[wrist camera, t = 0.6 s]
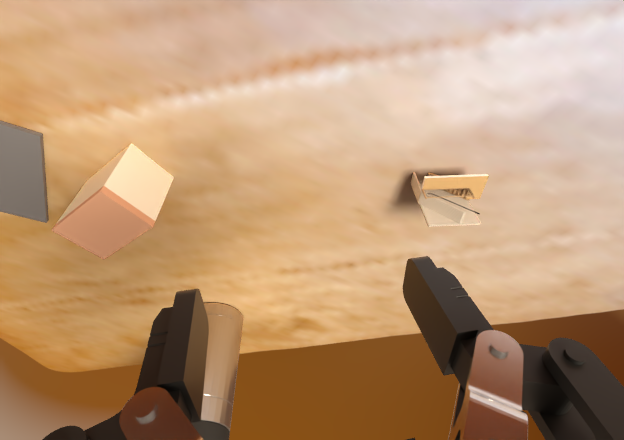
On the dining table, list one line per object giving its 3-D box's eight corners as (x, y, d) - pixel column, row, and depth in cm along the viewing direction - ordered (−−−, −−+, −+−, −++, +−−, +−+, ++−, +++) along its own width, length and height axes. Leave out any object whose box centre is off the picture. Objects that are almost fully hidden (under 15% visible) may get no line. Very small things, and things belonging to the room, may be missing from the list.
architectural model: (414, 158, 39) (433, 201, 34) (475, 156, 39) (504, 199, 34) (409, 182, 42) (426, 226, 36) (466, 180, 42) (492, 224, 36)
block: (131, 142, 36) (100, 191, 30) (173, 177, 39) (153, 227, 34) (87, 179, 39) (51, 230, 33) (130, 208, 42) (104, 259, 37)
